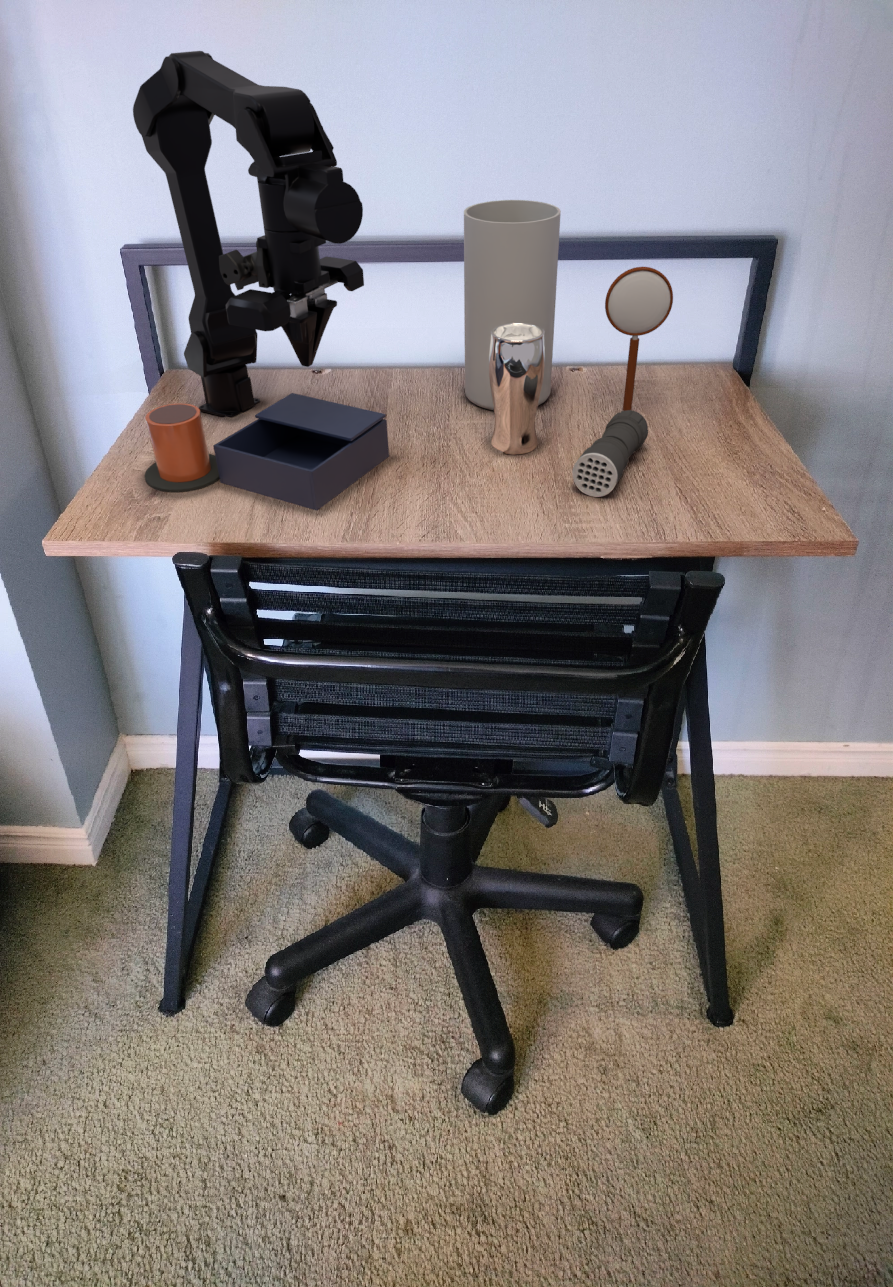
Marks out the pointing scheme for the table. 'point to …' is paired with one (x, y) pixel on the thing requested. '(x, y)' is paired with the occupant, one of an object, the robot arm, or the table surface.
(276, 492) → the carton
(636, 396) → the table surface
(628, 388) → the magnifying glass
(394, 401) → the table surface
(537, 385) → the beer glass
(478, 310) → the cylinder vase
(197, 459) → the cup
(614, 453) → the flashlight
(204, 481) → the disc
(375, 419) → the flap
